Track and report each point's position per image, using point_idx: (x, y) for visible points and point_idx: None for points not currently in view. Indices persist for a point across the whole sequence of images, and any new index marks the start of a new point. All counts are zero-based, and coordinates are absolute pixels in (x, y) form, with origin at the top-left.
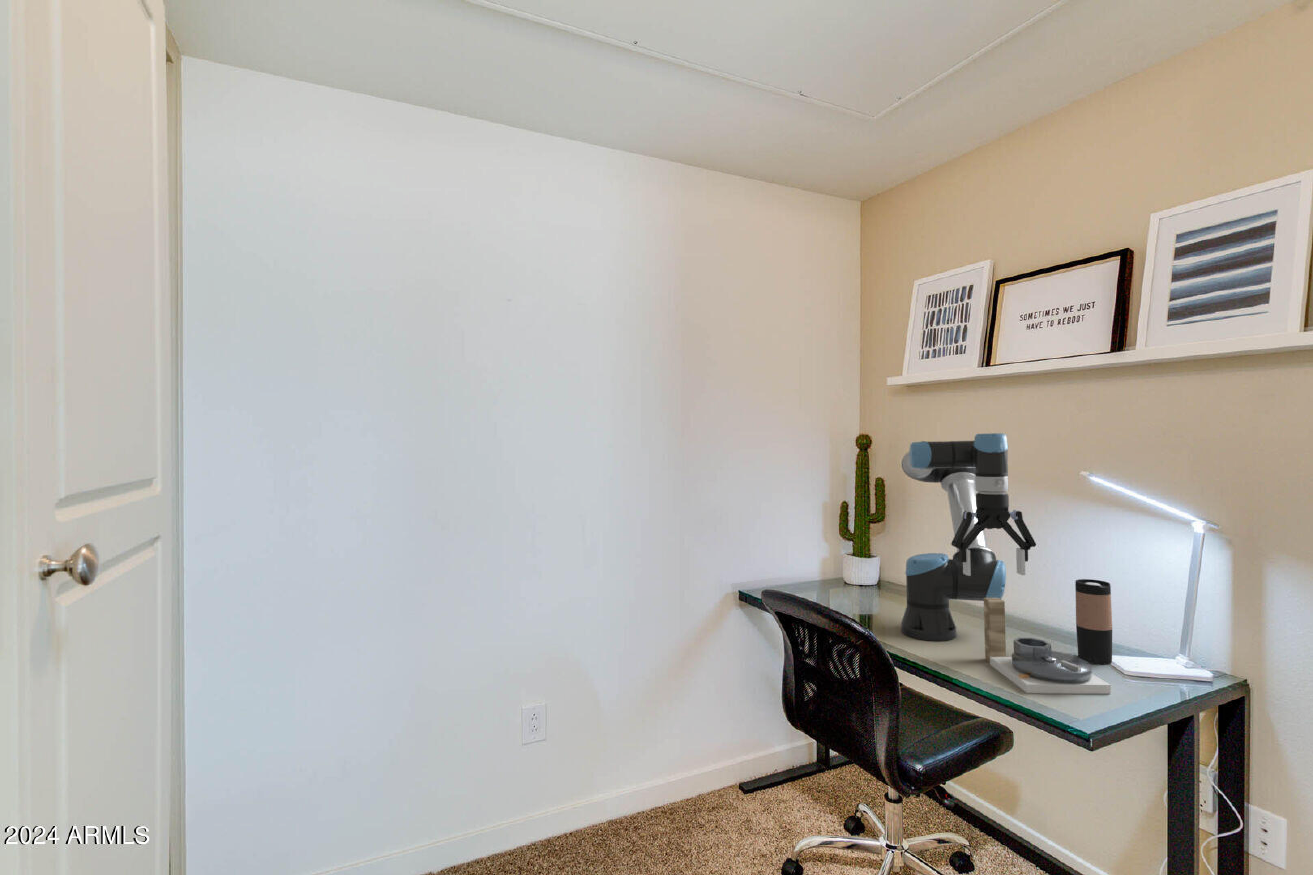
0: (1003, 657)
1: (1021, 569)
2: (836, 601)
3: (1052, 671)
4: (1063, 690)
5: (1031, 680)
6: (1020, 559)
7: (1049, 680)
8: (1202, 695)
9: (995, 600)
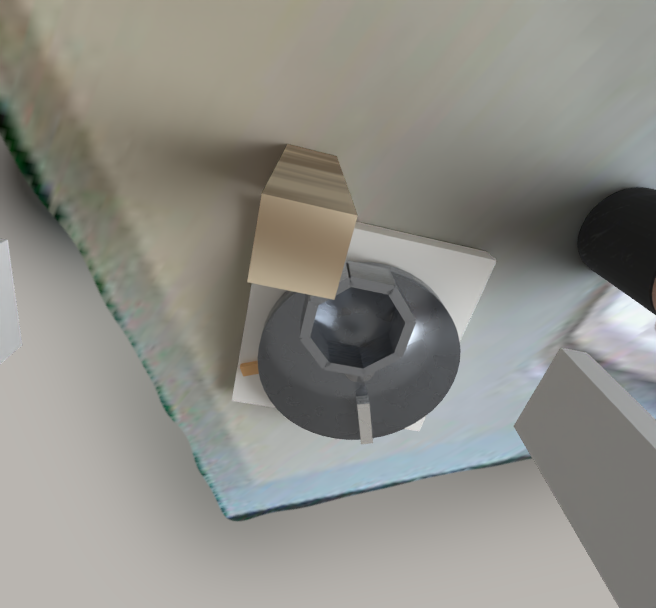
0: None
1: (545, 456)
2: None
3: (298, 424)
4: None
5: (259, 385)
6: (616, 552)
7: None
8: None
9: (293, 273)
